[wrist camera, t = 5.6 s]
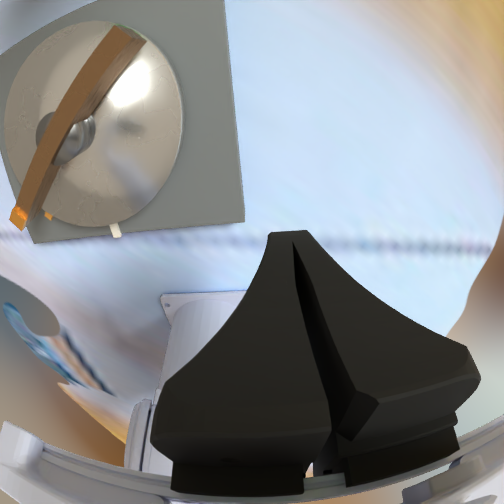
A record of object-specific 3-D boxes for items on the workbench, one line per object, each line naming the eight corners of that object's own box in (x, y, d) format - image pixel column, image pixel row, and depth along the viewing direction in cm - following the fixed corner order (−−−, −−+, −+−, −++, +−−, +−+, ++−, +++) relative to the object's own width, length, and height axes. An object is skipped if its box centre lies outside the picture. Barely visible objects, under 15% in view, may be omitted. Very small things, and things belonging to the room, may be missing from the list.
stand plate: (245, 214, 20) (244, 226, 18) (43, 236, 20) (33, 247, 19) (222, -24, 10) (219, -33, 9) (-2, 64, 11) (-16, 66, 10)
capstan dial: (110, 250, 19) (88, 286, 16) (-4, 148, 14) (-38, 169, 10) (235, 110, 14) (230, 122, 11) (81, -9, 9) (44, -19, 5)
